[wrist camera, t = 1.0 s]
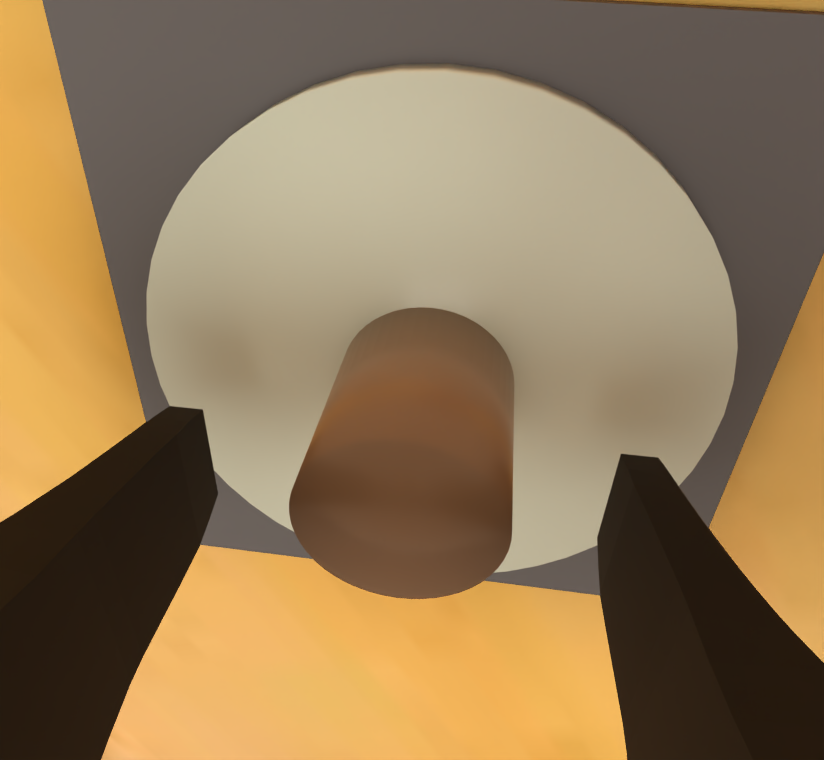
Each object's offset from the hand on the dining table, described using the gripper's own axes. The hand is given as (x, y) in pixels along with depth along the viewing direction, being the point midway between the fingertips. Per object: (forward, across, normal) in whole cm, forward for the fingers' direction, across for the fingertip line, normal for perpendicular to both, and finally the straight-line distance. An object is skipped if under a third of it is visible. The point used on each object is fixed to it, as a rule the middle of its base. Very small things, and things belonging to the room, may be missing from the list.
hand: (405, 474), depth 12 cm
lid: (+4, 0, 0) cm, 4 cm away
